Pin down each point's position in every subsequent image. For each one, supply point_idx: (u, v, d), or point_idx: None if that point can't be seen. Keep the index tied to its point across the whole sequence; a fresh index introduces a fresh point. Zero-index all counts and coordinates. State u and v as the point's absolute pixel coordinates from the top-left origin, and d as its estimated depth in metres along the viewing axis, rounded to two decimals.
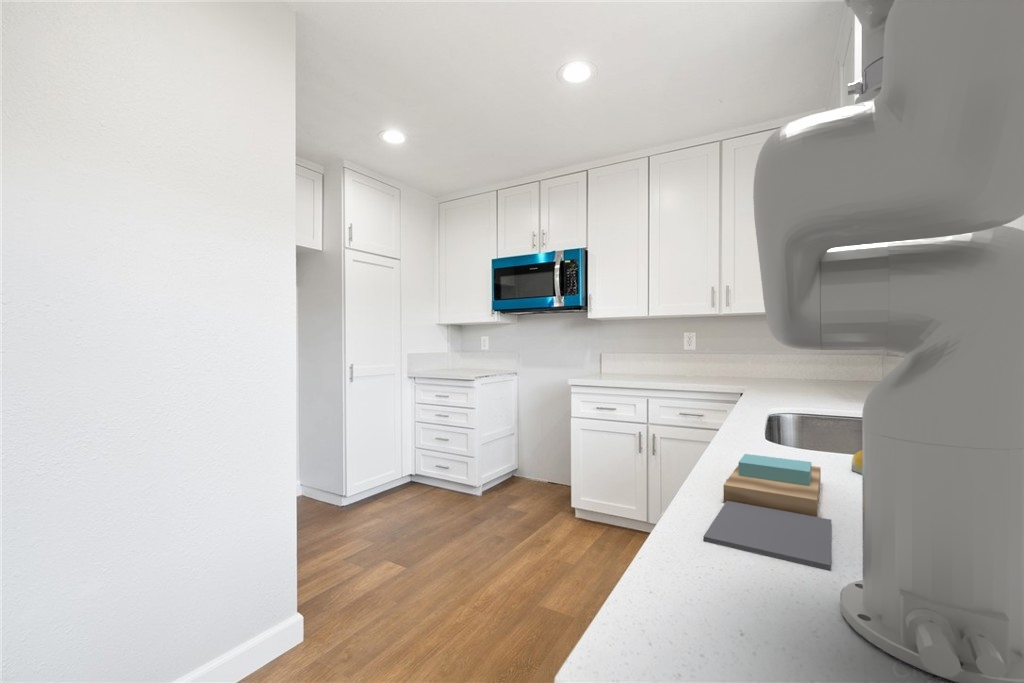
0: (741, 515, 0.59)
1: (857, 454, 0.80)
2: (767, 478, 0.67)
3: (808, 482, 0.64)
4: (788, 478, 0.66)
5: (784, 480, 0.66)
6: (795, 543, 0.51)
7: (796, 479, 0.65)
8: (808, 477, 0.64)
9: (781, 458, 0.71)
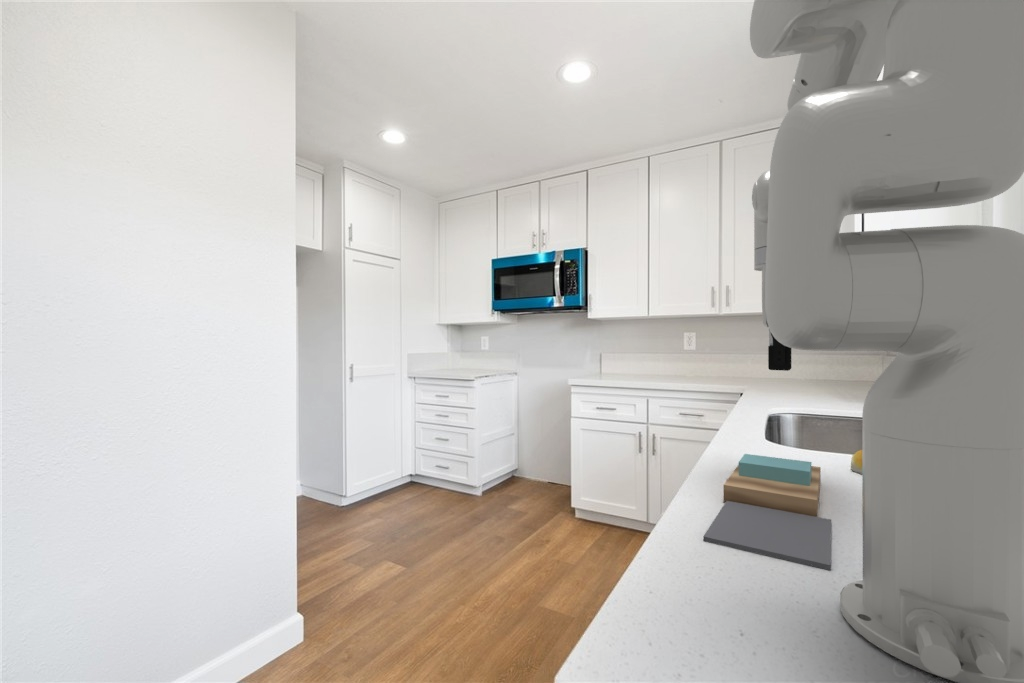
0: (741, 515, 0.59)
1: (856, 454, 0.80)
2: (767, 478, 0.67)
3: (808, 482, 0.64)
4: (788, 478, 0.66)
5: (784, 480, 0.66)
6: (795, 543, 0.51)
7: (796, 479, 0.65)
8: (808, 477, 0.64)
9: (781, 458, 0.71)
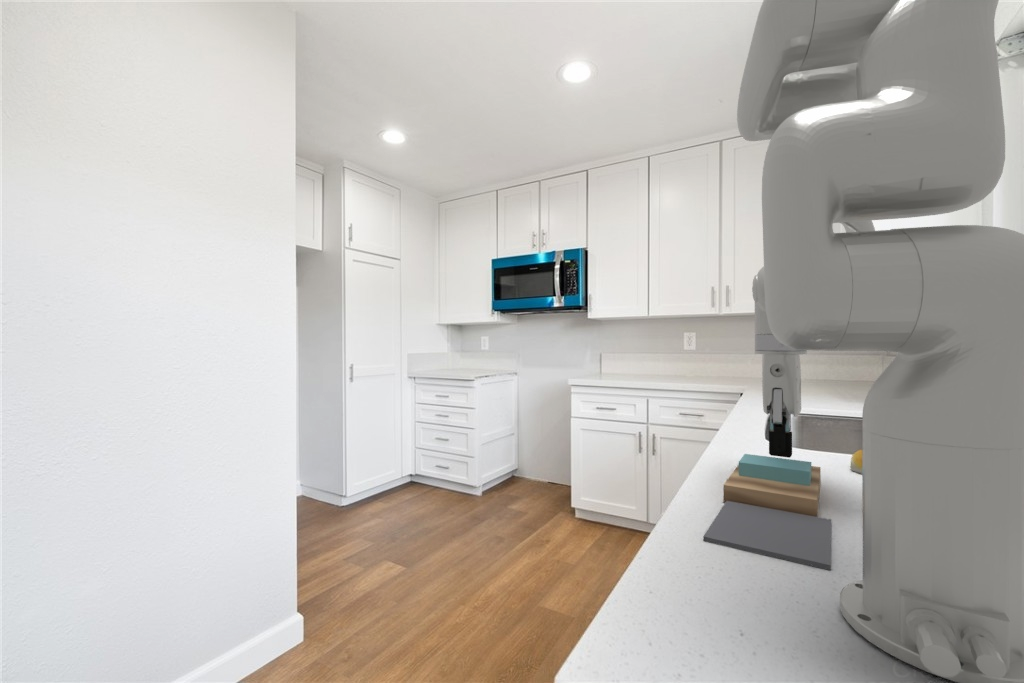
0: (741, 515, 0.59)
1: (856, 454, 0.80)
2: (767, 478, 0.67)
3: (808, 482, 0.64)
4: (788, 478, 0.66)
5: (784, 480, 0.66)
6: (795, 543, 0.51)
7: (796, 479, 0.65)
8: (808, 477, 0.64)
9: (781, 458, 0.71)
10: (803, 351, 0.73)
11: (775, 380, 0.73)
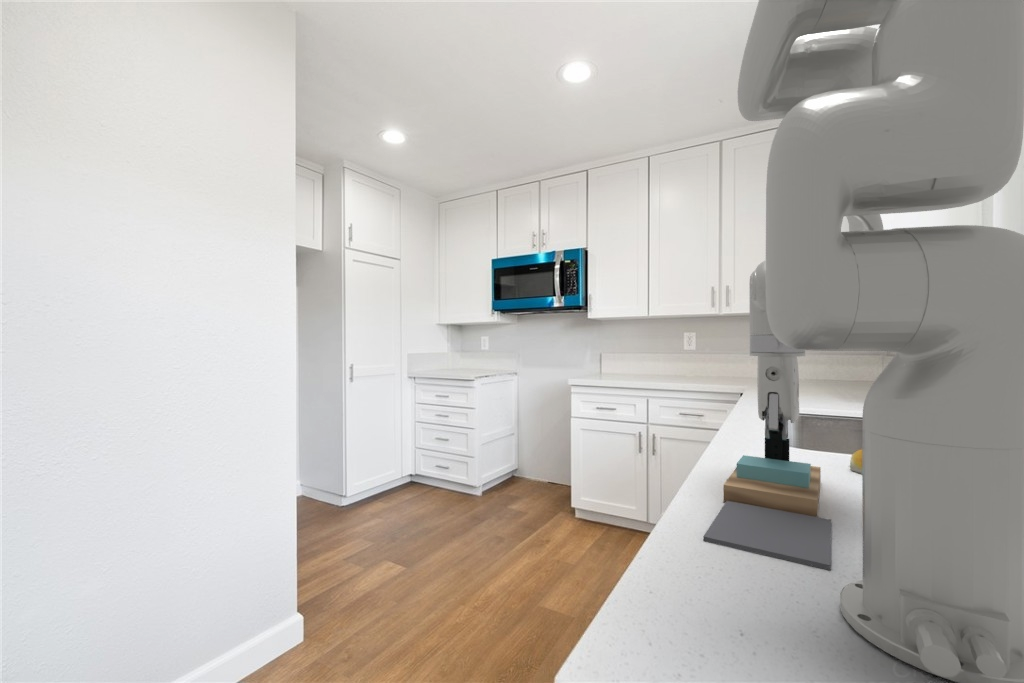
0: (741, 515, 0.59)
1: (856, 453, 0.80)
2: (765, 480, 0.66)
3: (807, 484, 0.63)
4: (787, 480, 0.65)
5: (783, 482, 0.65)
6: (795, 543, 0.51)
7: (795, 481, 0.64)
8: (807, 479, 0.63)
9: (780, 460, 0.70)
10: (801, 353, 0.68)
11: (771, 384, 0.68)
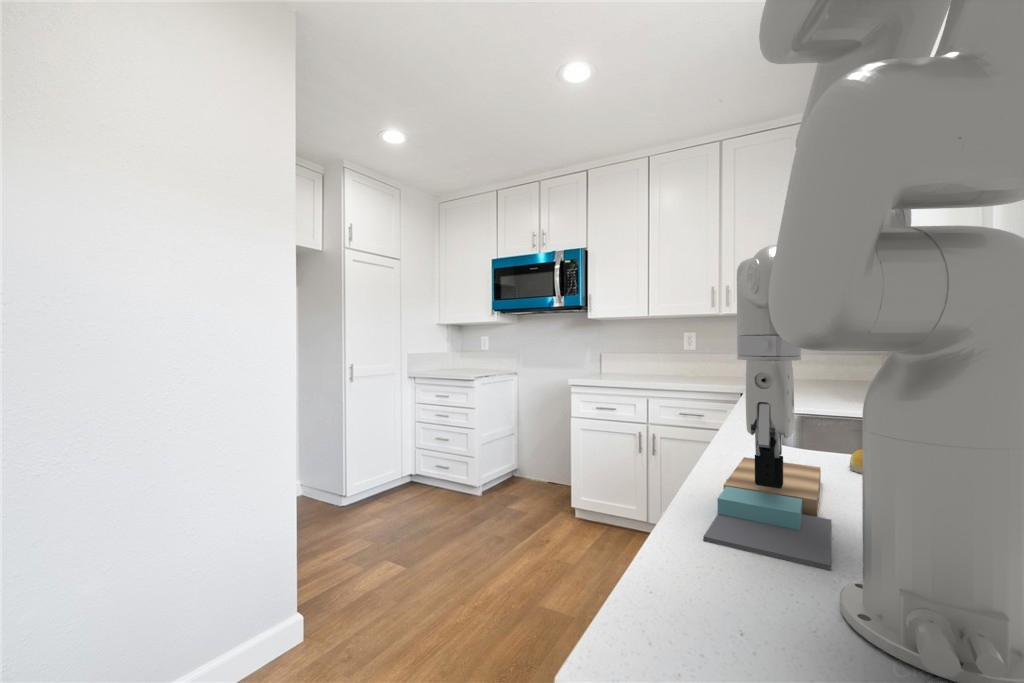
0: None
1: (855, 453, 0.80)
2: (750, 519, 0.57)
3: (798, 525, 0.54)
4: (774, 520, 0.56)
5: (770, 522, 0.56)
6: (795, 543, 0.51)
7: (784, 521, 0.55)
8: (798, 520, 0.54)
9: (767, 493, 0.61)
10: (796, 357, 0.59)
11: (761, 393, 0.58)
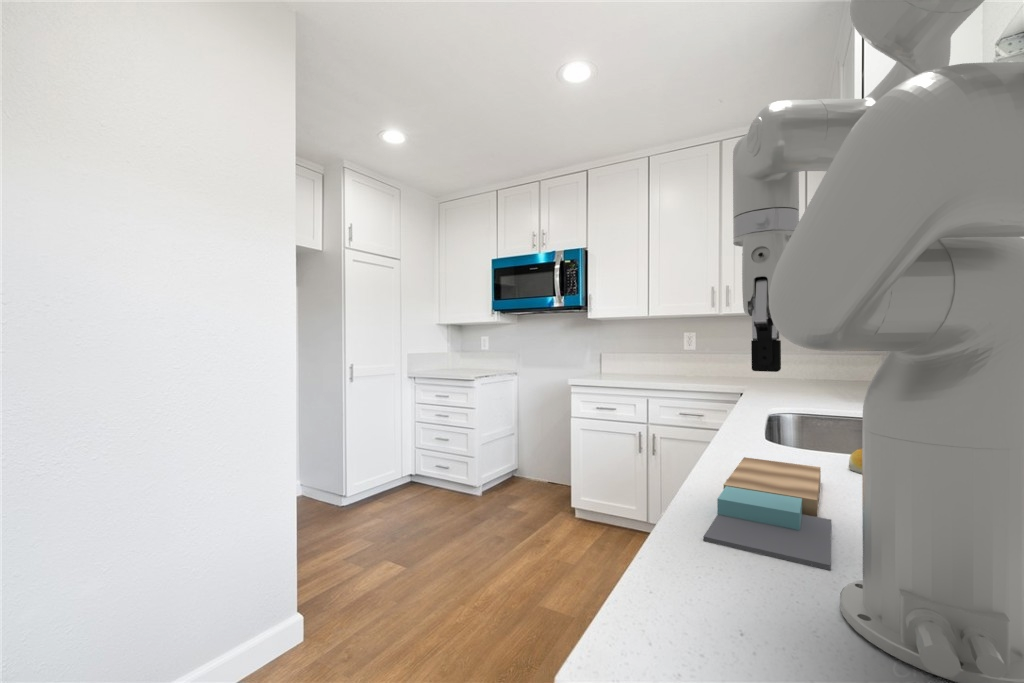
0: None
1: (854, 453, 0.80)
2: (750, 519, 0.57)
3: (798, 525, 0.54)
4: (774, 520, 0.56)
5: (770, 522, 0.56)
6: (795, 543, 0.51)
7: (784, 521, 0.55)
8: (798, 520, 0.54)
9: (767, 493, 0.61)
10: (794, 231, 0.57)
11: (758, 267, 0.56)
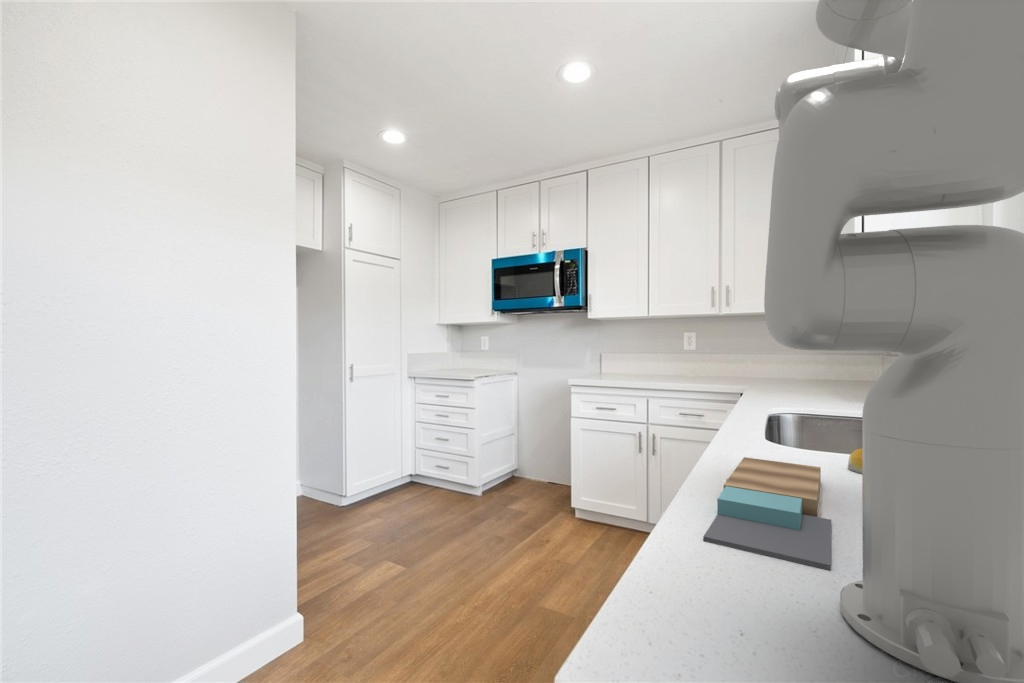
0: None
1: (854, 453, 0.80)
2: (750, 519, 0.57)
3: (798, 525, 0.54)
4: (774, 520, 0.56)
5: (770, 522, 0.56)
6: (795, 543, 0.51)
7: (784, 521, 0.55)
8: (798, 520, 0.54)
9: (767, 493, 0.61)
10: None
11: None
